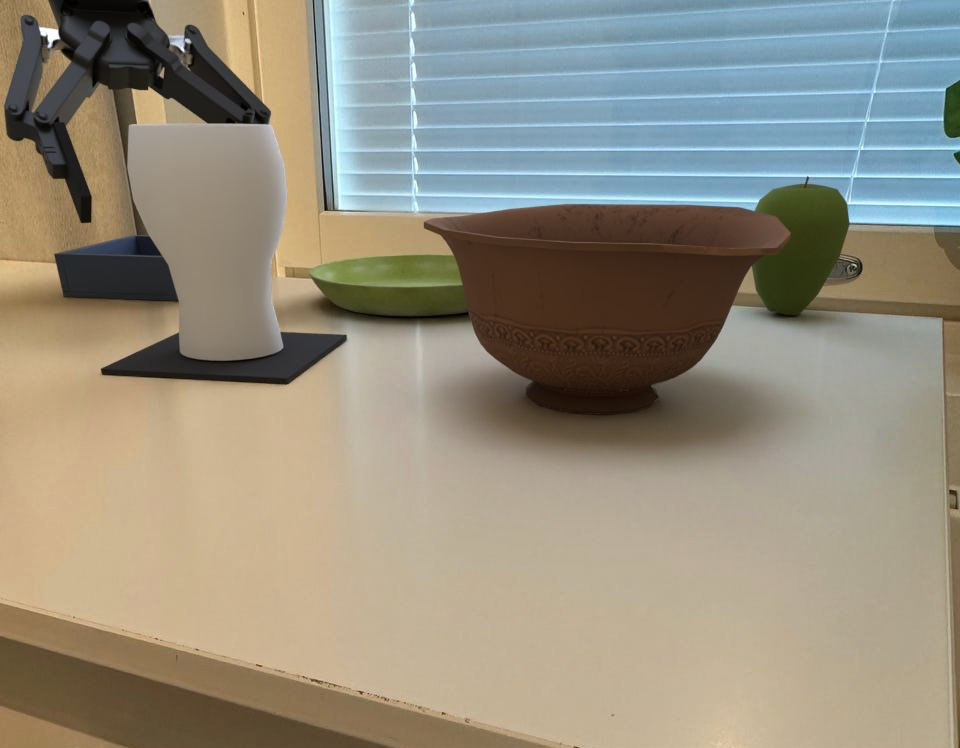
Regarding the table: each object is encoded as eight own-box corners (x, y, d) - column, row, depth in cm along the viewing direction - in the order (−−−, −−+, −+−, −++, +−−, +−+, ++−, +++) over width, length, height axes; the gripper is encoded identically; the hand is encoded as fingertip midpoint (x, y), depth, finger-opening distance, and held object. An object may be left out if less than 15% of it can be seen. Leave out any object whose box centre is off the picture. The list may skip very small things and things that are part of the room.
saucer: (532, 287, 95) (533, 255, 93) (509, 328, 77) (510, 289, 76) (344, 281, 97) (342, 250, 96) (281, 319, 80) (277, 282, 78)
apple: (738, 303, 88) (757, 172, 82) (827, 308, 86) (854, 174, 80) (735, 320, 80) (756, 177, 75) (833, 326, 79) (862, 180, 73)
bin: (63, 296, 89) (53, 253, 87) (139, 272, 102) (132, 234, 100) (208, 302, 87) (202, 258, 85) (267, 276, 100) (263, 238, 98)
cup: (328, 343, 70) (311, 124, 63) (245, 373, 62) (213, 126, 54) (221, 330, 74) (192, 123, 66) (129, 357, 66) (84, 124, 58)
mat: (101, 374, 63) (100, 368, 63) (188, 332, 75) (188, 327, 75) (287, 383, 61) (286, 378, 61) (347, 339, 73) (346, 334, 73)
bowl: (836, 414, 56) (877, 223, 50) (544, 474, 46) (554, 247, 41) (622, 344, 72) (635, 194, 66) (374, 377, 63) (364, 206, 57)
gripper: (235, 34, 81) (316, 231, 78) (-75, 17, 69) (6, 249, 66) (248, -46, 74) (337, 166, 71) (-92, -79, 62) (-2, 173, 59)
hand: (178, 206), depth 68 cm, fingers open, 13 cm apart
